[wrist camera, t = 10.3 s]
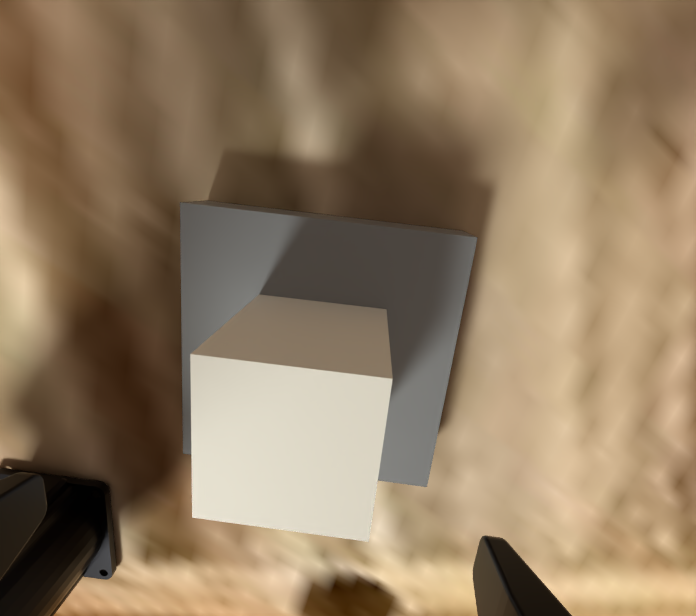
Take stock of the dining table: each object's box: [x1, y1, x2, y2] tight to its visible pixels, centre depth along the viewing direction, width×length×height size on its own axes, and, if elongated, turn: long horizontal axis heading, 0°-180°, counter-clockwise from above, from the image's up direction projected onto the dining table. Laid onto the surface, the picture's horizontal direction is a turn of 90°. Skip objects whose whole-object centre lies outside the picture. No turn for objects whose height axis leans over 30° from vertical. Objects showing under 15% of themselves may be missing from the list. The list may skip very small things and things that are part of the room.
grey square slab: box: [180, 201, 477, 487], centre depth 18 cm, size 11×11×3 cm
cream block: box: [190, 294, 393, 542], centre depth 13 cm, size 5×5×6 cm
